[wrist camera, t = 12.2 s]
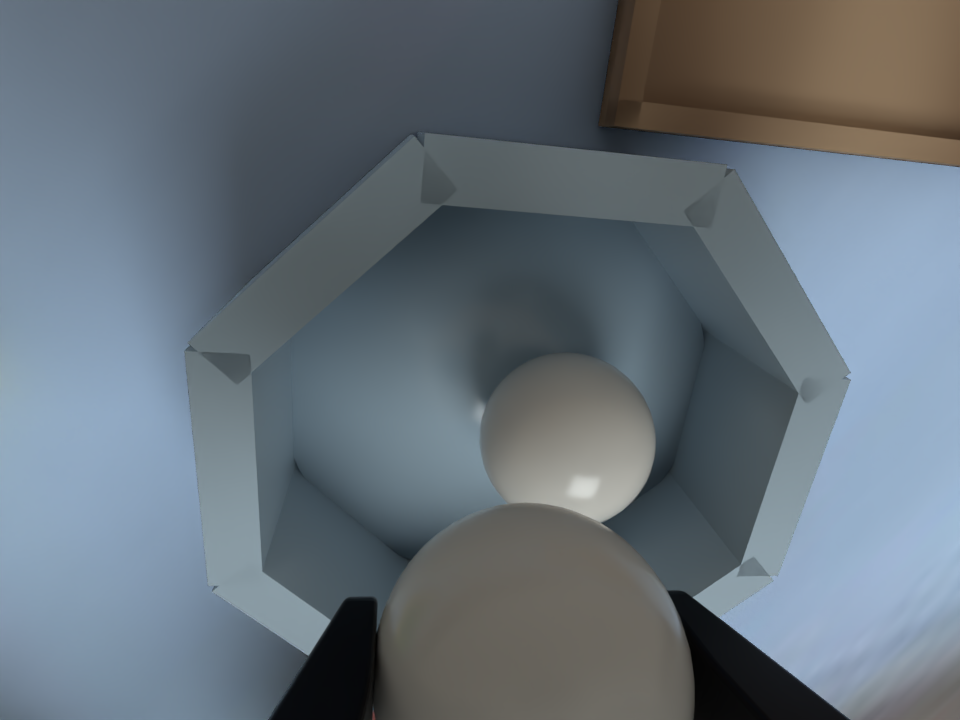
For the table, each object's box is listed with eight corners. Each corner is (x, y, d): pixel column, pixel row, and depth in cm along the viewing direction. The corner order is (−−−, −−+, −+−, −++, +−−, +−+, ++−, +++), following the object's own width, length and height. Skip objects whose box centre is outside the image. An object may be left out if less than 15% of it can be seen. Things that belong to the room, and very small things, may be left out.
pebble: (600, 642, 10) (712, 934, 6) (375, 650, 9) (355, 975, 6) (646, 450, 8) (823, 686, 5) (382, 444, 8) (364, 707, 4)
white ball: (626, 331, 14) (711, 399, 10) (599, 464, 15) (666, 563, 12) (474, 325, 13) (512, 397, 10) (460, 466, 14) (489, 573, 11)
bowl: (777, 170, 13) (923, 185, 10) (665, 572, 18) (735, 690, 14) (237, 112, 11) (159, 104, 8) (263, 579, 16) (221, 716, 12)
